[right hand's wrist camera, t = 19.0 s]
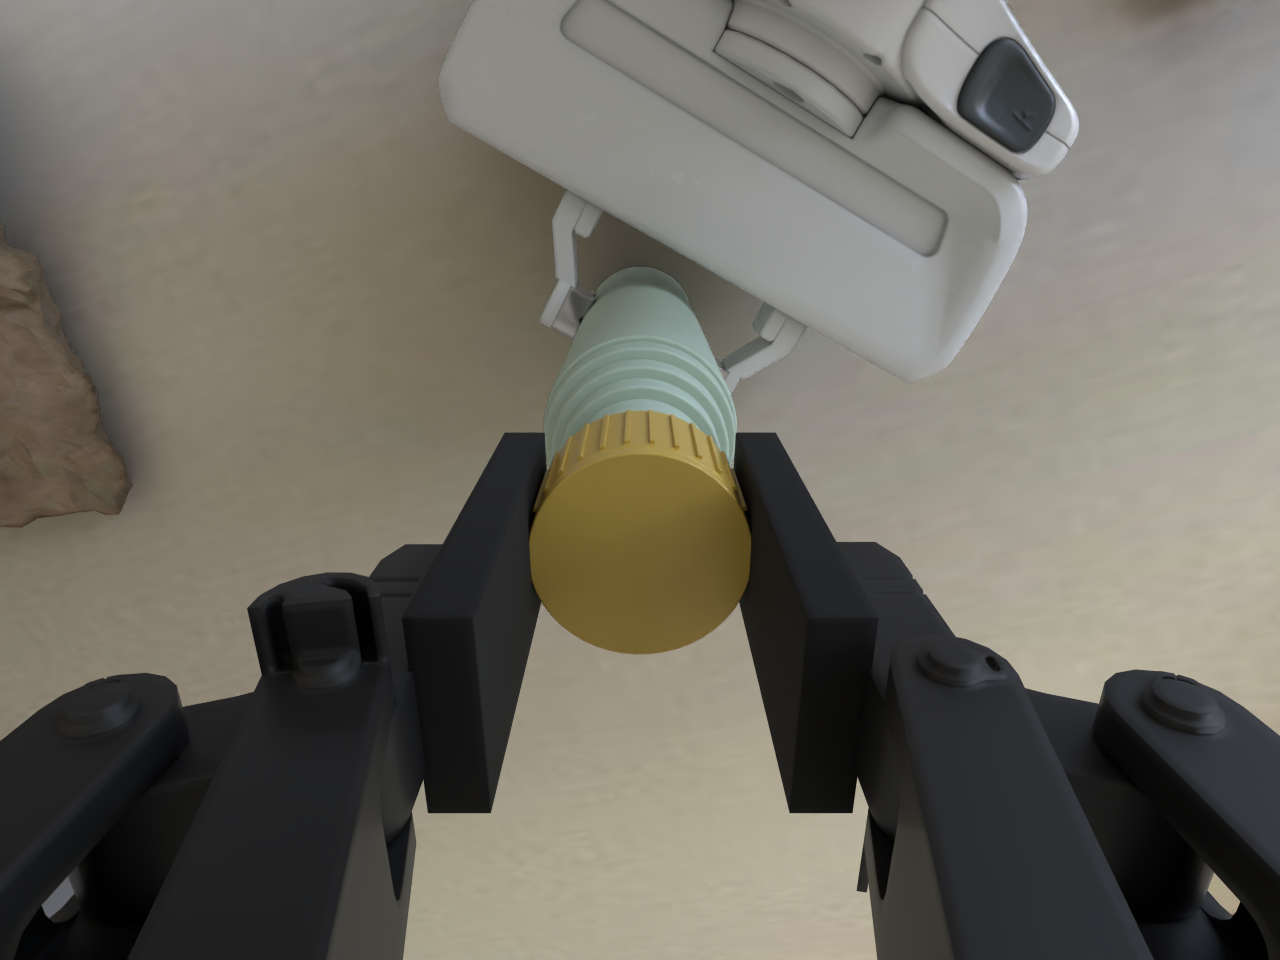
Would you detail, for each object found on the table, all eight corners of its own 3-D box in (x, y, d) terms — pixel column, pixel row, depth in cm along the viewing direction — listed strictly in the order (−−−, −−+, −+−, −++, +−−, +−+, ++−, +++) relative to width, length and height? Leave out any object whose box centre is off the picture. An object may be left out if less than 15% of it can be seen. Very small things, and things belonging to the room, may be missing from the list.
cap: (685, 614, 15) (694, 687, 13) (512, 545, 15) (490, 610, 12) (773, 456, 14) (799, 506, 12) (587, 373, 13) (577, 410, 11)
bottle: (593, 259, 33) (508, 388, 12) (700, 274, 34) (810, 428, 12) (582, 364, 35) (489, 648, 13) (683, 378, 35) (753, 678, 14)
